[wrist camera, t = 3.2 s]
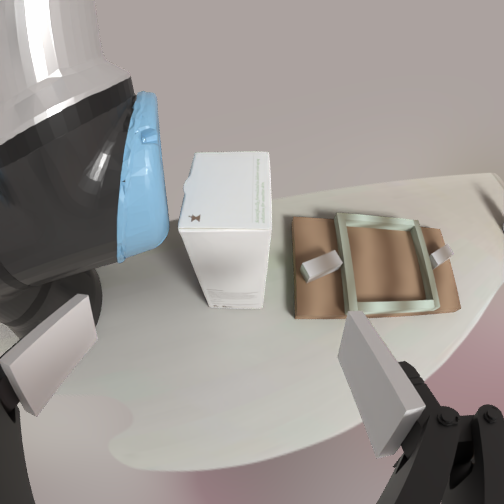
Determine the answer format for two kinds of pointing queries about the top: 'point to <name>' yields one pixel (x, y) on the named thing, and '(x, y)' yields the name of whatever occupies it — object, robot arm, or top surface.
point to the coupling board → (370, 268)
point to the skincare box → (228, 226)
